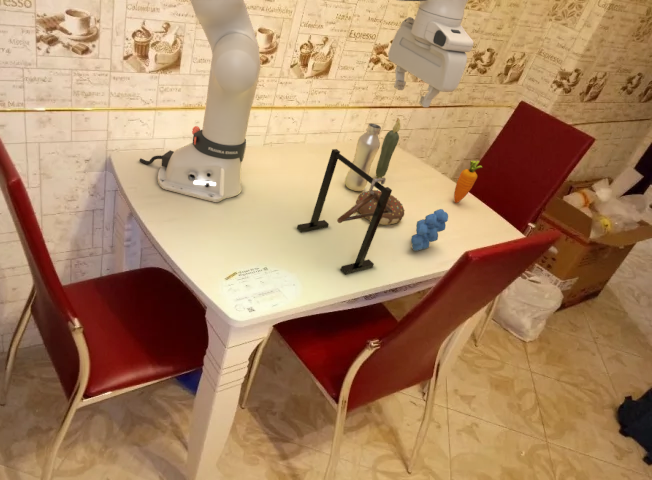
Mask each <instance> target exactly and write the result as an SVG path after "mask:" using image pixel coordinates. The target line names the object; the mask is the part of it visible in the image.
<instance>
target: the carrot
mask: <svg viewBox="0 0 652 480" xmlns="http://www.w3.org/2000/svg"><path fill="white" fill-rule="evenodd" d="M479 163H480V160H471V161H470V163H469V168H465V169H463V170H461V172H460V174H459V176H458V179H457V181H456V184H455V188H454V193H453V200H454V204H457V203H459V202H461V201H462V200H463V199H464V198H465V197H466V196H467V195H468V194H469V192H470V191H471V190H472V188H473V186H474V185H475V182H476V181H477V179H478V174H477V172H476V170H478V169H482V168H483V166H482V165H479Z"/></svg>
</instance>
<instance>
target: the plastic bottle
mask: <svg viewBox="0 0 652 480" xmlns="http://www.w3.org/2000/svg"><path fill="white" fill-rule="evenodd" d="M381 130H382V127H381V126H380V125H379V124H376V123H371V122H370V123H368V124H367V127H366V129H365V131H366V132H364V133H363V134H362V135H360V136H359V138H358V139H357V141H356V147H355V153H354V157H353V160H352V163H353V164H354V165H356V166H357V167H358V168H360V169H361V170H362V171H364V172H365V173H366V174H368V175H369V176H370V170H371V167H372V164H373V162H374V159H375V158H376V155H377V153H378V151H379V149H380V146H381V143H380V138H379V135H380V133H381ZM344 184H345V186H346V188H348V189H349V190H352V191H355V192H363V191H364V190H365V188H366V187H367V185H368V181H367V180H365V179H364V178H363V177H361V176H360V175H359V174H357V173H356V172H355V171H353V170H352V169H351V168H349V171H348V172H347V173H346V176H345V179H344Z"/></svg>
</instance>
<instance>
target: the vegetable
mask: <svg viewBox="0 0 652 480" xmlns="http://www.w3.org/2000/svg"><path fill="white" fill-rule="evenodd" d="M400 130H401V120H400V118H399V117H397V118H396V121H395V124H394V125H393V127H392V130H389V131H388V132H387V133H386V134H385V136H384V138H383V141H382V144H381V148H380V149H381V150H380V154H379V158H378V161H377V164H376V168H375V169H376V170H375V176H376V179H377V178H384V177H385V176H386V174H387V172H388V170H389V167H390V162H391V159H392V157H393V154H394V153H395V149H396V148H397V145H398V144H399V140H400V134H399V131H400Z"/></svg>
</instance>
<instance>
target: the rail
mask: <svg viewBox="0 0 652 480" xmlns="http://www.w3.org/2000/svg"><path fill="white" fill-rule="evenodd" d="M338 160H339V161H340V162H341V163H343V164H344V165H345V166H347V168H349V169H350V168H351V169H352V170H353V171H355V172H356V173H357V174H359V175H360V176H361V177H363V178H364V179H365V180H367V183H369V184H370V185H371V183H372V180H373V179H374V177H372V176H371V175H370V174H369V175H368V174H366V173H365V172H364V171H362V170H361V169H360V168H358V167H357V166H356V165H354V164H353V161H350V160H349V159H348V158H346V157H345V156H344V155H342V154H341V151H340V150H338V148H333V149H331V152H330V156H329V159H328V162H327V165H326V168H325V171H324V176H323V178H322V183H321V185H320V188H319V192H318V195H317V198H316V202H315V205H314V207H313V212H312V215H311V219H310V222H306V223H300V224H297V226H296V230H297V231H299V232H300V233H301V234H302V233H307V232H311V231H318V230H322V229H327V228H329V225H330V224H329V222H328V221H326V220H325V219H322V220H320V217H321V215H322V211H323V208H324V205H325V202H326V198H327V195H328V192H329V189H330V185H331V182H332V179H333V176H334V173H335V170H336V165H337V163H338ZM373 188H376V189H377V190H378V191H380V192H382V193H381V196H380V198H379V201H378V203H377V206H376V209H375V211H374V214H373V216H372V219H371V221H369V225H368V227H367V230H366V231H365V234H364V237H363V240H362V243H361V245H360V248H359V251H358V253H357V256H356V258H355V261H354V262H352V263H349V264H344V265H341V267H340V269H339V270H340V272H341V273H342V274H344V275H345V276H347V275H351V274H355V273H359V272H362V271H366V270H369V269H373V268H374V266H375V263H374V262H373V261H371V260H370V259H366V258H367V255H368V253H369V250H370V247H371V244H372V242H373V240H374V237H375V235H376V232H377V230H378V227H379V225H380V224H379V222H380V220H381V217H382V215H383V212H384V210H385V207H386V205H387V202H388V199H389V197H390V195H392V192H393V189H391V188H390V187H389V186H386V187H385V185H384V184H383V185H382V184H381V182H375V184H374V187H373Z"/></svg>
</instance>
